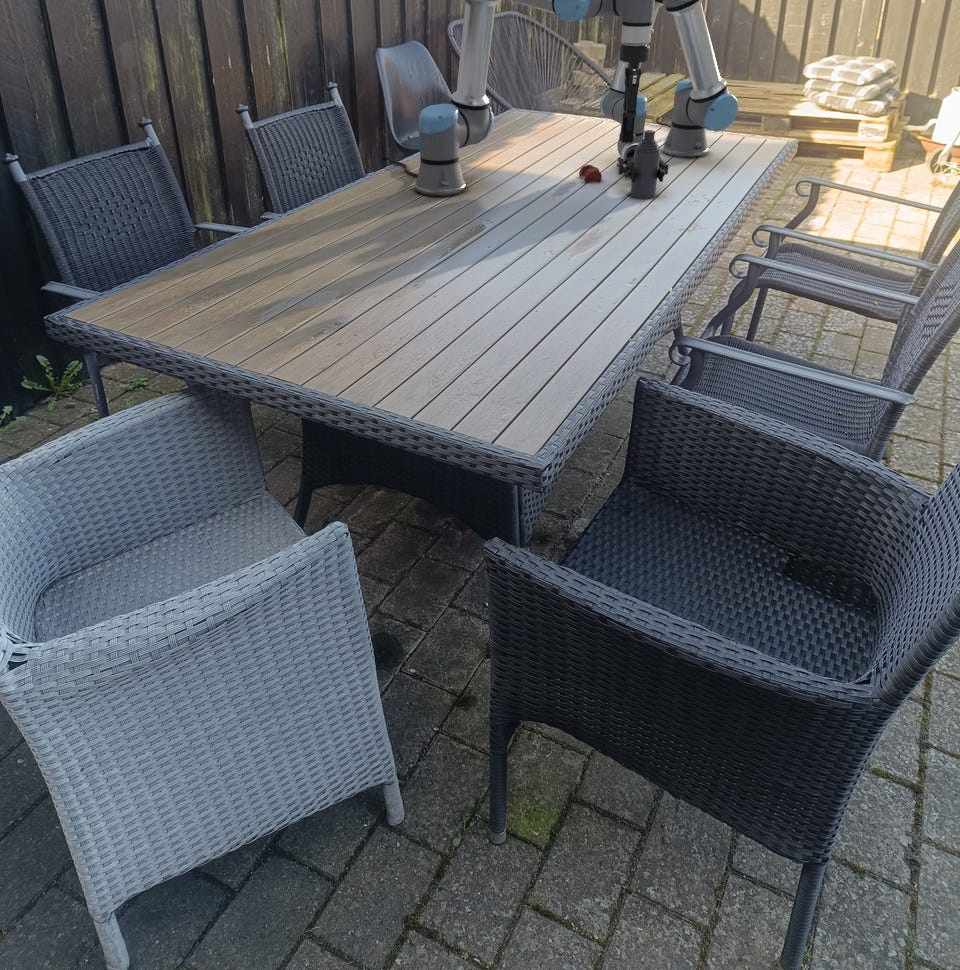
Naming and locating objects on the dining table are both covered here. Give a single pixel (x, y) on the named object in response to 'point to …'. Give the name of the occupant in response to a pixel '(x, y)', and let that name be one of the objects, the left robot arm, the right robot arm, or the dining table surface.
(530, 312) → the dining table surface
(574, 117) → the dining table surface
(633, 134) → the cap
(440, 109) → the left robot arm
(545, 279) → the dining table surface
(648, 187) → the bottle
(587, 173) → the dental model
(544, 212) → the dining table surface
